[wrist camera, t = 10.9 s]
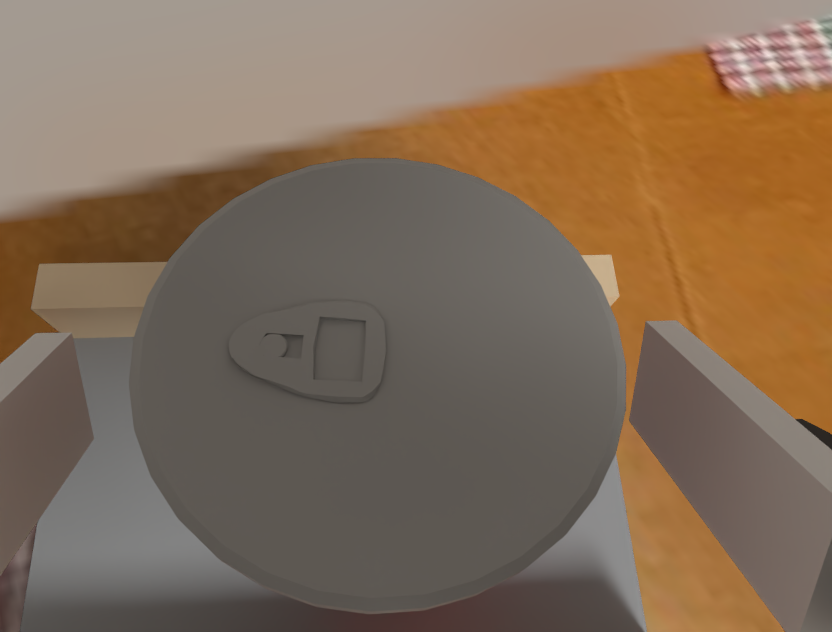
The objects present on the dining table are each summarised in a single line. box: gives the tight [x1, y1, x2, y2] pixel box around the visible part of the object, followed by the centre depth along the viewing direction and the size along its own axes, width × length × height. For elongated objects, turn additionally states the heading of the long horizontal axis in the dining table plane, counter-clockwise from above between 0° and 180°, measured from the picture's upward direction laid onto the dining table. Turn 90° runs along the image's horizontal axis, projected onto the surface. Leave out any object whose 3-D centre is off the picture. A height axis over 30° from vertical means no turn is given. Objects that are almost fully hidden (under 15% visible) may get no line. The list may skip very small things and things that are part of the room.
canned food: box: [129, 158, 626, 614], centre depth 15 cm, size 8×8×11 cm
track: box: [20, 255, 647, 632], centre depth 19 cm, size 18×15×4 cm
